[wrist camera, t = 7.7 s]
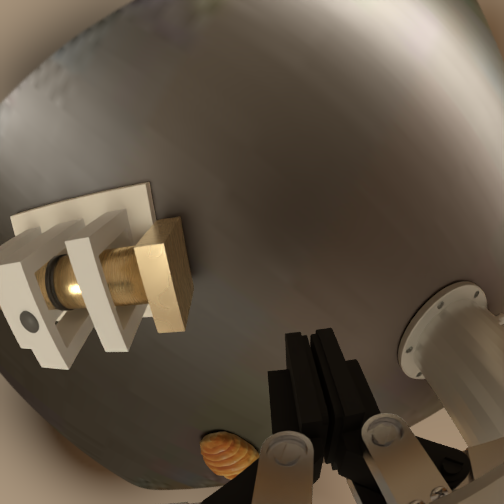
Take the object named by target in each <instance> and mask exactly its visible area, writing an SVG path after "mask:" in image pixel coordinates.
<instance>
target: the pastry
mask: <svg viewBox="0 0 504 504" xmlns="http://www.w3.org/2000/svg"><path fill="white" fill-rule="evenodd" d="M200 447H201V454H202V455H203V459H204V461H205V463H206V464H207V465H208V467H209V468H210V469H211V470H212V471H213V472H214V473H215V474H216V475H223V476H225V478H227V479H231V480H232V479H233V478H235V477H236V476H237V475H238V474H240V473H241V472H242V471H243V470H245V469H246V468H247V467H248V466H249V465H251V464H252V463H253V462H254V461H255V460H257V459H258V458H259V454H258V452H257V451H256V449H255V448H254V447H253V446H252V445H250V443H248V442H246V441H245V440H243V439H242V438H240V437H239V436H237V435H235V434H231V433H228V432H226V431H223V432H217V433H211V434H208V435H206V436H204V438H203V439H202V440H201V441H200Z"/></svg>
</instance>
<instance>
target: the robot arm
mask: <svg viewBox="0 0 504 504" xmlns="http://www.w3.org/2000/svg"><path fill="white" fill-rule="evenodd" d="M503 324H504V313H501V314H499V315H496V316H495V315H493V314H492V313H491V312H490V311H489V310H488V309H487V299H486V296H485V293H484V292H483V290H482V289H481V288H480V287H478V286H477V285H476V284H474V283H472V282H469V281H462V282H458V283H454V284H452V285H450V286H448V287H446V288H444V289H443V290H441V291H440V292H438V293H437V294H435V295H434V296H433V297H432V298H431V299H430V300H428V301H427V302H426V303H425V304H424V306H423V307H422V308H421V309H420V310H419V311H418V312H417V314H416V315H415V316H414V318H413V319H412V320H411V322H410V324H409V325H408V327H407V328H406V330H405V333H404V335H403V337H402V339H401V342H400V345H399V349H398V362H399V365H400V367H401V369H402V370H403V371H404V373H405V374H406V375H407V376H409V377H410V378H413V379H426V380H427V382H428V383H429V385H430V386H431V388H432V389H433V391H434V392H435V394H436V395H437V397H438V398H439V400H440V401H441V403H442V405H443V406H444V408H445V409H446V411H447V412H448V414H449V415H450V417H451V419H452V420H453V422H454V424H455V425H456V427H457V428H458V430H459V432H460V433H461V435H462V437H463V438H464V440H465V442H466V444H467V445H468V448H467V449H466V450H465V451H460V450H458V449H455V448H451V447H448V446H445V445H442V444H438V443H435V442H432V441H429V440H426V439H423V438H420V437H417V436H415V435H414V434H413V432H412V431H411V429H410V428H409V426H408V425H407V423H406V422H405V421H404V420H403V419H402V418H400V417H399V416H397V415H394V414H390V413H382V414H381V413H380V411H379V409H378V406H377V404H376V401H375V399H374V397H373V394H372V392H371V390H370V388H369V385H368V383H367V381H366V378H365V376H364V374H363V372H362V369H361V367H360V365H359V363H358V361H357V360H356V359H354V360H348V361H345V359H344V356H343V354H342V351H341V349H340V347H339V344H338V342H337V339H336V337H335V335H334V332H333V330H332V328H327V329H319V330H316V334H312V335H311V339H310V345H309V341H308V338H307V335H304V336H302V335H301V332H296V333H287V334H285V344H286V366H287V369H286V370H277V371H268V382H269V395H270V408H271V420H272V433H273V435H272V436H270V437H269V438H267V439H266V440H265V442H264V443H263V444H262V447H261V450H260V456H259V458H258V459H257V460H255V461H254V462H253V463H252V464H251V465H249V466H248V467H247V468H246V469H245V470H243V471H242V472H241V473H240V474H238V475H237V476H236V477H235V478H233V479H232V480H231V481H229V482H228V483H227V484H225V485H224V486H223V487H221V488H220V489H219V490H217V491H216V492H215V493H213V494H212V495H210V496H209V497H208V498H206V499H205V500H203V501H202V502H200V503H191V504H312V495H313V484H314V483H315V482H316V481H317V480H318V478H319V477H320V472H321V467H322V462H323V457H324V459H325V463H326V464H329V463H331V466H332V470H337V469H338V474H339V475H341V476H344V477H345V478H346V480H347V483H348V485H349V488H350V490H351V492H352V494H353V497H354V499H355V501H356V503H357V504H504V326H503ZM170 504H189V503H188V502H182V503H170Z"/></svg>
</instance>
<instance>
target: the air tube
mask: <svg viewBox="0 0 504 504" xmlns="http://www.w3.org/2000/svg"><path fill="white" fill-rule="evenodd" d="M99 259H100V262H101V266H102V269H103V272H104V276H105V279H106V282H107V285H108V288H109V291H110V294H111V297H112V300H113V303H114V306H127V305H140V304H149V305H150V309H151V312H152V315H153V318H154V321H155V324H156V328H157V331H158V333H166V332H180V331H185V329H186V324H187V319H188V315H189V310H190V305H191V300H192V296H193V291H194V285H193V280H192V276H191V271H190V266H189V261H188V256H187V250H186V245H185V240H184V234H183V229H182V223H181V217H174V218H167V219H160V220H156V222H155V223H154V224H153V225H152V226H151V227H150V229H149V230H148V231H147V232H146V233H145V235H144V236H143V237H142V238H141V239H140V241H139V242H138V243H137V244H136V245H135V246H128V247H121V248H113V249H107V250H104V251H103V252H102V253H101V254H100V255H99ZM34 274H35V277H36V279H37V282H38V285H39V287H40V290H41V293H42V295H43V298H44V300H45V302H46V305H47V307H48V310H61V311H70V310H74V309H80V308H87V307H86V305H85V302H84V299H83V297H82V294H81V291H80V288H79V286H78V283H77V280H76V277H75V274H74V271H73V268H72V265H71V262H70V258H69V255H68V254H63V255H57V256H54V257H53V258H52V259H50V260H49V261H48V262H47V263H46V264H44V265H43V266H42V267H41V268H40V269H39V270H37V271H36V272H35V273H34ZM0 309H1V310H2V308H1V306H0Z"/></svg>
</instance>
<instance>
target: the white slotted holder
mask: <svg viewBox="0 0 504 504" xmlns="http://www.w3.org/2000/svg"><path fill="white" fill-rule="evenodd" d="M10 218H11V222H12V225H13V229H14V233H15V237H14V238H12V239H10V240H9V241H7V242H6V243H4V244H3V245H1V246H0V306H1V308H2V311H3V313H4V315H5V317H6V319H7V321H8V323H9V325H10V327H11V329H12V331H13V333H14V335H15V337H16V339H17V341H18V343H19V345H20V347H21V348H26V349H32V351H33V353H34V355H35V356H36V358H37V360H38V361H39V363H40V365H41V367H45V368H55V369H66V370H69V369H70V367H71V365H72V363H73V361H74V360H75V358H76V356H77V354H78V353H79V351H80V349H81V347H82V346H83V344H84V342H85V341H86V339H87V337H88V335H89V334H90V332H91V330H92V329H93V327H95V329H96V331H97V334H98V336H99V338H100V340H101V343H102V345H103V347H104V349H105V351H106V352H128V351H129V348H130V346H131V343H132V341H133V338H134V336H135V334H136V331H137V329H138V326H139V324H140V322H141V319H142V317H153V315H152V312H151V309H150V305H149V304H140V305H127V306H114V303H113V300H112V297H111V294H110V291H109V288H108V285H107V282H106V279H105V276H104V272H103V269H102V266H101V262H100V259H99V255H100V254H101V253H102V252H103V251H104V250H107V249H113V248H121V247H128V246H135V245H136V244H137V243H138V242H139V241H140V239H141V238H142V237H143V236H144V235H145V233H146V232H147V231H148V230H149V229H150V227H151V226H152V225H153V224H154V223H155V222H156V215H155V210H154V205H153V199H152V193H151V187H150V182H145V183H140V184H135V185H130V186H125V187H120V188H115V189H110V190H105V191H101V192H96V193H92V194H88V195H83V196H79V197H75V198H71V199H67V200H63V201H59V202H56V203H52V204H48V205H44V206H41V207H37V208H34V209H30V210H27V211H24V212H20V213H17V214H15V215H13V216H11V217H10ZM63 254H68V255H69V258H70V262H71V265H72V268H73V271H74V274H75V277H76V280H77V283H78V286H79V288H80V291H81V294H82V297H83V299H84V302H85V305H86V307H87V308H80V309H74V310H70V311H61V310H48V307H47V305H46V302H45V300H44V298H43V295H42V293H41V290H40V287H39V285H38V282H37V279H36V277H35V274H34V273H35V272H36V271H37V270H39V269H40V268H41V267H42V266H43V265H44V264H46V263H47V262H48V261H49V260H50V259H52V258H53V257H54V256H57V255H63ZM55 321H59V322H58V324H57V325H55Z"/></svg>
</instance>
